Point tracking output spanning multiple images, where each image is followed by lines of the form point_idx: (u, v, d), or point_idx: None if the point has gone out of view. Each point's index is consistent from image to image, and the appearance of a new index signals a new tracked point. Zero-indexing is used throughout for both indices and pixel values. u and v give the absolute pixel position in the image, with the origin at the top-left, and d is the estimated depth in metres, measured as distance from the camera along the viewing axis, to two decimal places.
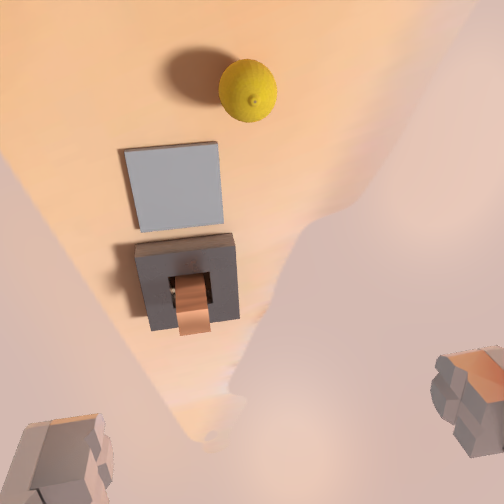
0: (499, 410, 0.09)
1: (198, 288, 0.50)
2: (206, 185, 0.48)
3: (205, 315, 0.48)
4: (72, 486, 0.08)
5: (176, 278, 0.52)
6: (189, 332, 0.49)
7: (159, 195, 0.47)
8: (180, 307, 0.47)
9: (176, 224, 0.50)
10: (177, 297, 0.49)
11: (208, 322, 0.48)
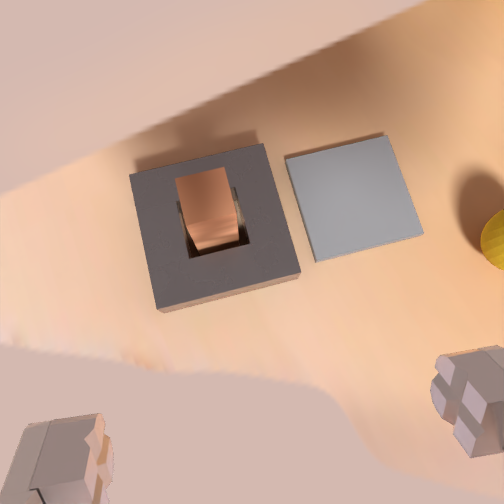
0: (499, 410, 0.09)
1: None
2: (367, 228, 0.37)
3: (221, 211, 0.29)
4: (72, 486, 0.08)
5: None
6: (181, 192, 0.29)
7: (342, 175, 0.38)
8: None
9: (304, 199, 0.38)
10: None
11: (206, 218, 0.29)
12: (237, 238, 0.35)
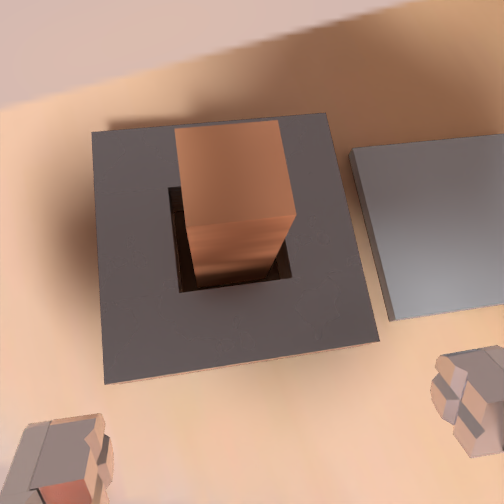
0: (499, 410, 0.09)
1: None
2: (479, 274, 0.22)
3: (265, 206, 0.14)
4: (72, 486, 0.08)
5: None
6: (185, 157, 0.14)
7: (440, 185, 0.24)
8: None
9: (379, 215, 0.23)
10: None
11: (232, 218, 0.13)
12: (269, 266, 0.20)
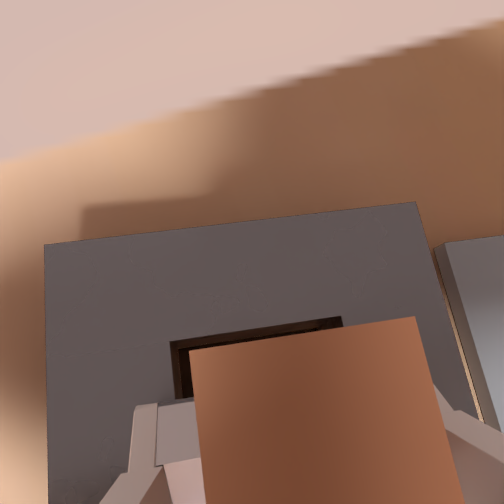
0: None
1: None
2: None
3: None
4: (195, 462, 0.08)
5: None
6: (215, 430, 0.06)
7: None
8: None
9: (492, 352, 0.15)
10: None
11: None
12: None
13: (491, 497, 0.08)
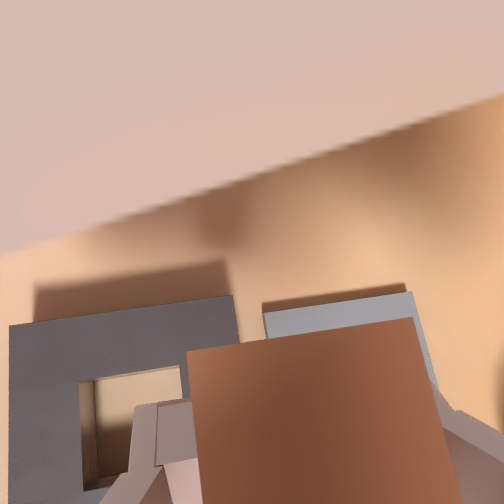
0: None
1: None
2: None
3: None
4: (195, 462, 0.08)
5: None
6: (213, 431, 0.06)
7: None
8: None
9: None
10: None
11: None
12: None
13: (491, 497, 0.08)
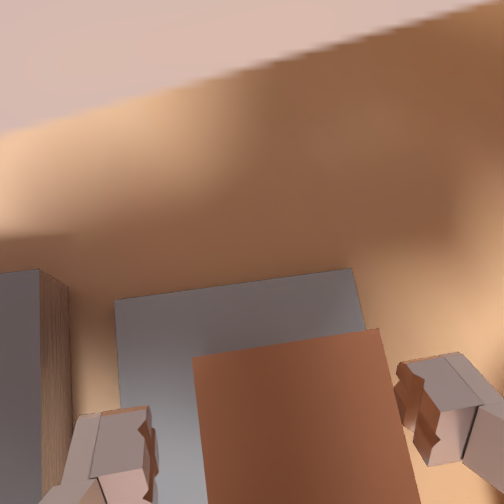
0: (454, 419, 0.09)
1: None
2: None
3: None
4: (131, 475, 0.08)
5: None
6: (213, 422, 0.07)
7: None
8: None
9: None
10: None
11: None
12: None
13: None
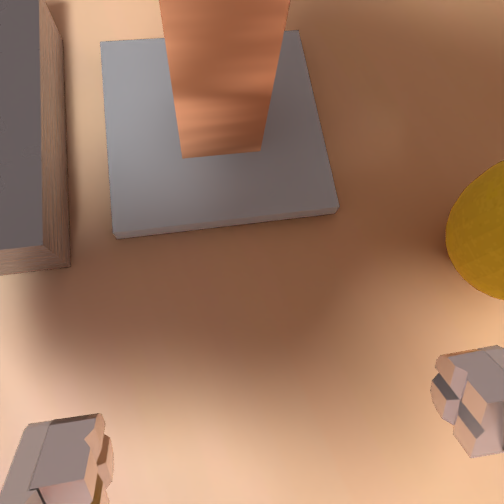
0: (499, 410, 0.09)
1: None
2: (230, 184, 0.19)
3: None
4: (73, 486, 0.07)
5: None
6: None
7: None
8: None
9: (117, 116, 0.19)
10: None
11: None
12: (264, 116, 0.17)
13: None
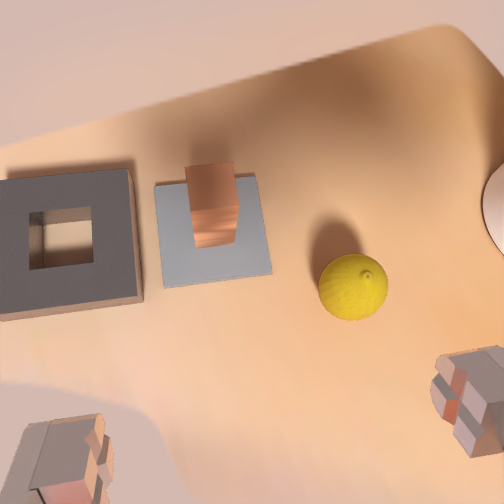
0: (499, 410, 0.09)
1: None
2: (219, 261, 0.38)
3: (225, 201, 0.30)
4: (73, 486, 0.07)
5: None
6: (190, 180, 0.31)
7: None
8: None
9: (164, 227, 0.39)
10: None
11: (210, 207, 0.30)
12: (234, 234, 0.36)
13: None
